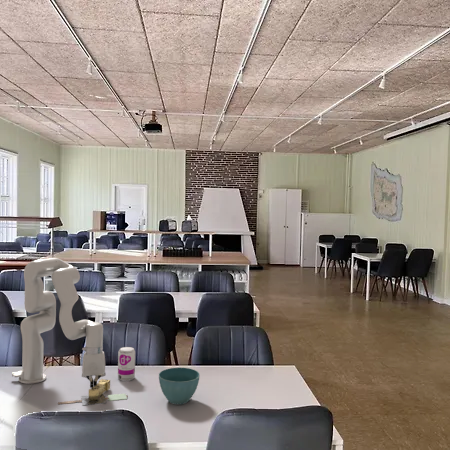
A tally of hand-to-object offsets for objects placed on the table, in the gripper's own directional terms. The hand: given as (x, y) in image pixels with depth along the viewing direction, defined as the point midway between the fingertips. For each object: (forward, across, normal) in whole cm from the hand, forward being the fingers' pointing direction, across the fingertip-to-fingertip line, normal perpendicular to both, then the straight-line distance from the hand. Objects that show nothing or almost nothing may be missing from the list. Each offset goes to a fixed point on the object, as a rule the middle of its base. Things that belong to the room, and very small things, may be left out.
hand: (93, 388), depth 227 cm
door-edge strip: (+2, 0, -8) cm, 9 cm away
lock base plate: (+2, 0, -8) cm, 9 cm away
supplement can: (+2, +15, +16) cm, 23 cm away
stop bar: (+1, +2, -4) cm, 4 cm away
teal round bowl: (+2, +37, -15) cm, 40 cm away
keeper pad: (+2, +11, -7) cm, 13 cm away
